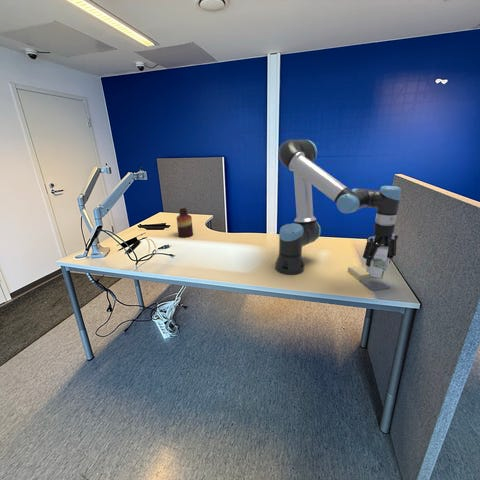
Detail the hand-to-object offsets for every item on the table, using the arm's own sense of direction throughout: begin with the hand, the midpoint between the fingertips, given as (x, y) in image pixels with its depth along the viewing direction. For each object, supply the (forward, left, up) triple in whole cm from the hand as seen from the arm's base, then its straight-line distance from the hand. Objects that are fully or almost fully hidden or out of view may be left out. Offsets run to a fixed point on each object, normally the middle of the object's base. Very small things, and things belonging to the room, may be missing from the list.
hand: (376, 271), depth 116 cm
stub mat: (0, 0, -7) cm, 7 cm away
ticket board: (+1, +10, -7) cm, 12 cm away
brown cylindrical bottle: (-84, +97, -7) cm, 129 cm away
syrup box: (0, 0, -2) cm, 2 cm away
